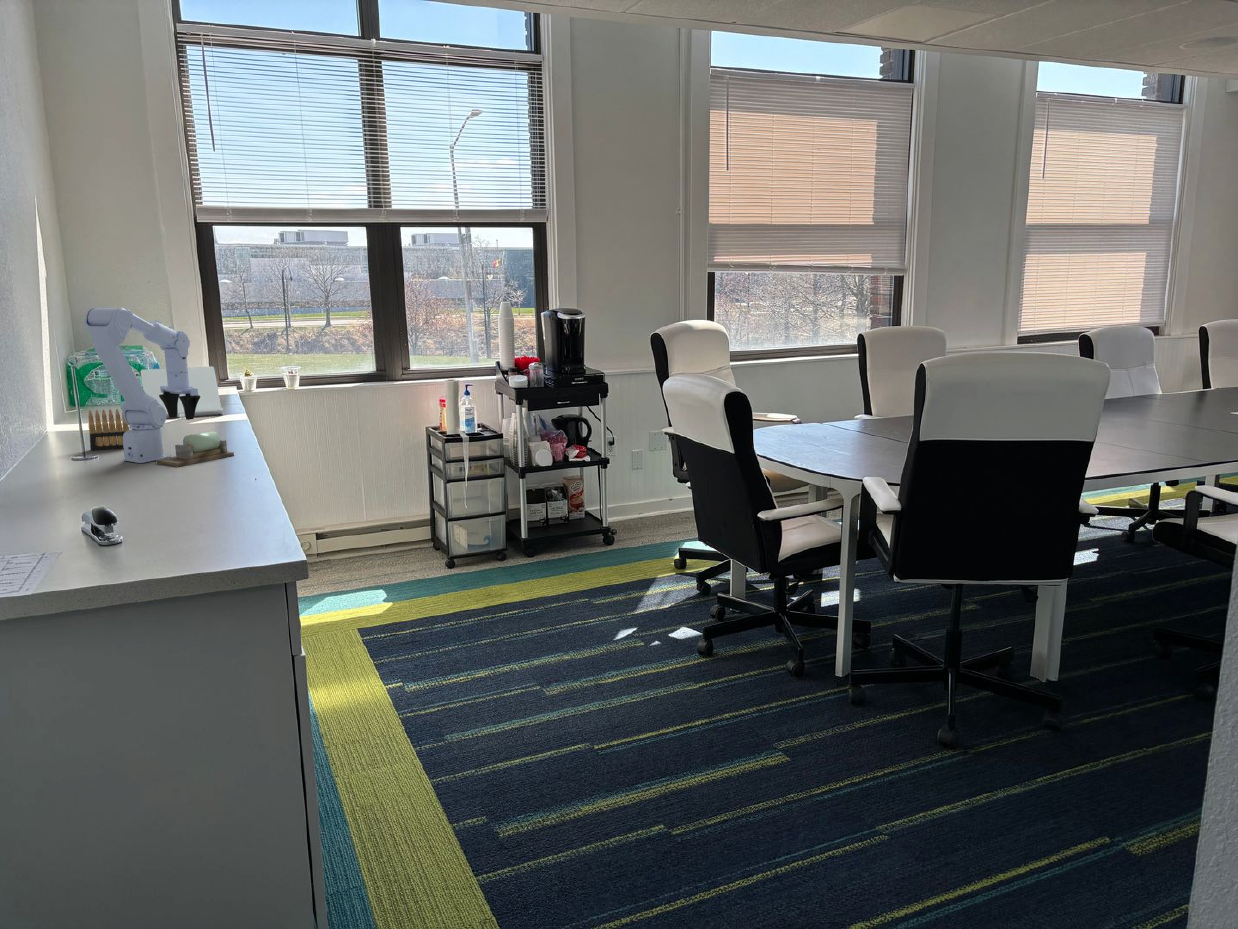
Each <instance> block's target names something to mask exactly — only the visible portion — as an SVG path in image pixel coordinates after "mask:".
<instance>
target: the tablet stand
mask: <svg viewBox="0 0 1238 929" xmlns="http://www.w3.org/2000/svg"><path fill="white" fill-rule="evenodd" d="M140 377H141V386H142V388H143V389H144V391H145V393H146V394H148V395H150V396H151V397H153V398H155V399H156V400H157V401H158V403H159V404H160V405H162V406H163V407H164V408H165V410H166V414H167V417H166V419H171V418H170V417H169V415H168V412H167V409H166V407H165V405H164V403H163V401H162V400H161V399H160V397H159V395H162V394H163V393H161V391H160V386H168V383H167V373H166V368H149V369H148V368H147V369H141V370H140ZM188 377H189V386H192V387H193V388H197V389H198V395H200V399H199V401H198V403H197V406H196V410H195V415H194V417H199V416H200V417H202V416H203V417H205V416H206V417H207V416H216V415H217V416H218V415H219V414H220V415H223V414H224V408H223V407H222V404H221V399H220V393H219V387H218V381H217V375H216V371H215V367H214V366H197V367H195V366H194V367H193V366H192V367H188ZM175 392H181V391H175ZM179 396H185V394H180V395H179ZM175 418H186V417H185V412H184V407H183V404H182V402H181V400H180V398H179V399H178V415H177V417H173V418H172V419H175Z"/></svg>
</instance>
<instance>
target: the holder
mask: <svg viewBox="0 0 1238 929" xmlns="http://www.w3.org/2000/svg"><path fill="white" fill-rule="evenodd" d="M174 447H175V448H174V449H175V456H171V457H170V458H164V459H159V460H156V464H158V465H164V466H170V467H177V468H179V467H184V466H188V465H194V464H199V463H203V462H204V463H205V462H210V461H213V460H214V461H215V460H218V459H219V460H220V459H224V458H230V457H233V456H235V452H234V451H228V445H227V440H225V439H220V445H219V447H218V448H217V449H213V450H207V451H202V452H197V453H193V448H192V446H185V445H183V444H174Z"/></svg>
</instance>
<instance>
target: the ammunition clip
mask: <svg viewBox="0 0 1238 929" xmlns="http://www.w3.org/2000/svg"><path fill="white" fill-rule="evenodd" d="M121 412H122V411H121ZM94 414H95V416H94V415H93V412H92V410H91V409H90V410H89V411H88V431H89V443H90V444H89V446H90V448H89V449H90V452H92V451H94V452H95V451H108V450H109V451H110V450H111V451H112V450H124V449H123V434H124V433H125V432H127V431H130V427H129V425H128V424H127V423H126V422H125V420H124V416H123V412H122V414H120V411H119V409H118V408H116V409H115V419H114V413H113V411H112V409H111V408H110V409H109V410H108V417H107V413H106V410H105V409H104V408H103V409H102V412H101V417H100V412H99V411H98V409H96V410H95V413H94ZM121 415H122V416H121ZM121 417H122V419H121ZM94 418H95V419H94ZM101 419H102V420H101Z"/></svg>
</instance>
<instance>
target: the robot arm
mask: <svg viewBox="0 0 1238 929" xmlns="http://www.w3.org/2000/svg"><path fill="white" fill-rule="evenodd" d="M83 325H84V327H85V329H86V331H87V333H88V334H89V336H90V338H91V340H92V341H91V342H92V345H93V349H94V351H95V353H96V354H97V356H98V358H99V359H100V361H101V363H102V364H103V366H104V368H105V369H106V371H107V372H108V375H109V376H110V378H111V380H112V382H113V383H114V385H115V386H116V388H117V390H118V392H119V393H120V395H121V396H122V398H123V399H124V401H122V403H121V405H120V409H121V412H123V416H124V420H125V422H126V423H127V424H128V425H129V431H127V432H125V433H124V434H123V448H124V449H123V456H124V457H123V458H122V461H126V462H132V463H138V464H142V463H143V464H144V463H147V462H148V463H149V462H154V461H157V460H159V459H164V458H170V457H172V456H171V455H168V454H164V446H163V435H162V434H163V433H162V428H163V427H164V424H165V423H166V420H167V418H166V417H167V414H166V410H165V408H164V407H163V406H162V405H160V404H159V403H158V401H157V400H156V399H155V398H153V397H151V396H150V395H148V394H146V393H145V391H144V389H143V386H142V383H141V382H140V381H139V379H138V377H137V375H136V374H135V371H134V370H133V369H132V366H131V364H130V363H129V361H128V360H127V357H126V356H125V355H124V353H123V351H122V349H121V347H120V345H121V344H123V343H124V341H125V340H126V337H127V335H128V333H129V331H130V330H133V331H136V332H138V333H141V334H142V336H143V337H144V339H145V340H147V341H148V342H151V343H153V344H156V345H158V346H159V348H160V350H162V351H163V352H164V361H165V363H164V364H165V369H166V373H167V383H168V386H160V391H161V393H163V394H162V395H159V397H160V399H161V400H162V401H163V403H164V405H165V407H166V409H167V412H168V415H169V417H170V418H169V419H174V418H173V417H177V415H178V399H179V398H180V400H181V402H182V404H183V407H184V412H185V417H184V418H185V419H186V420H187V421H188V420H189V421H190V420H194V419H195V416H194V415H195V410H196V406H197V403H198V401H199V399H200V395H198V389H197V388H193V387H192V386H189V377H188V368H189V366H188V359H187V357H188V355H189V348H190V345H191V340H190V338H189V336H188V334H186V332H184V331H181V330H179V331H178V330H175V329H174V328H173V327H171V326H166V325H164V324H163V322H162V321H160V320H153V321H147V320H145V319H143V318H141V317H139V316H138V315H137V314H134V313H133V311H132V310H130V309H127V308H124V307H117V308H116V307H106V308H105V307H95V306H94V307H93V306H92V307H91V308H90V307H89V309H88V310H86V313H85V316H84V321H83ZM175 391H181V392H175ZM180 394H185V396H179V395H180Z"/></svg>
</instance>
